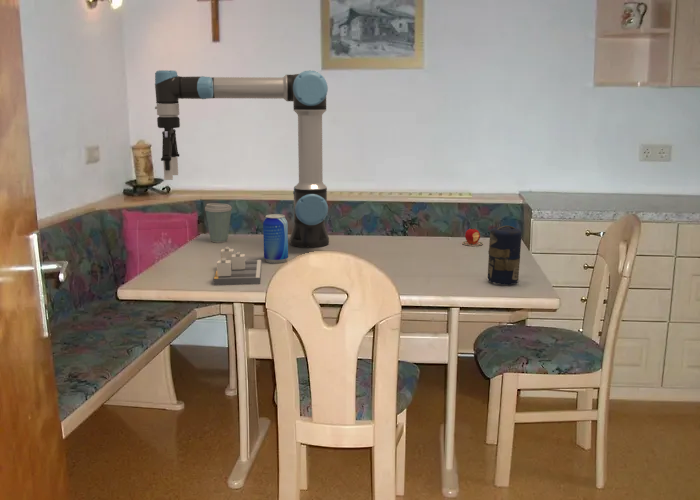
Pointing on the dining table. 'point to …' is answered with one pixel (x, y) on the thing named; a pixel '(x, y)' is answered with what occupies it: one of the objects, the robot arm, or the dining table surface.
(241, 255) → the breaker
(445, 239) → the dining table surface
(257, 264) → the panel
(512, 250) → the canister
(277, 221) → the beer can
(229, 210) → the disposable coffee cup
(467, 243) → the apple
